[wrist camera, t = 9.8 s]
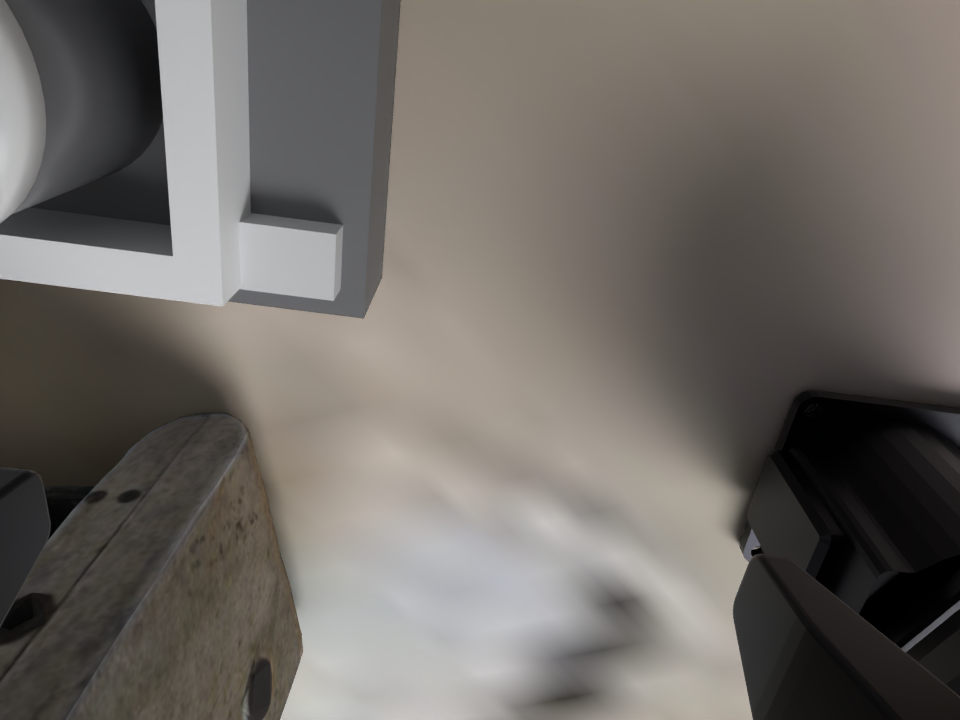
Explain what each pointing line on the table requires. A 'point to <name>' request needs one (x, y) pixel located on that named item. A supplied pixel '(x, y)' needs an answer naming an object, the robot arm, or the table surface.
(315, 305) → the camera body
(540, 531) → the table surface
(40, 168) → the lens
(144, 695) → the vintage camera
